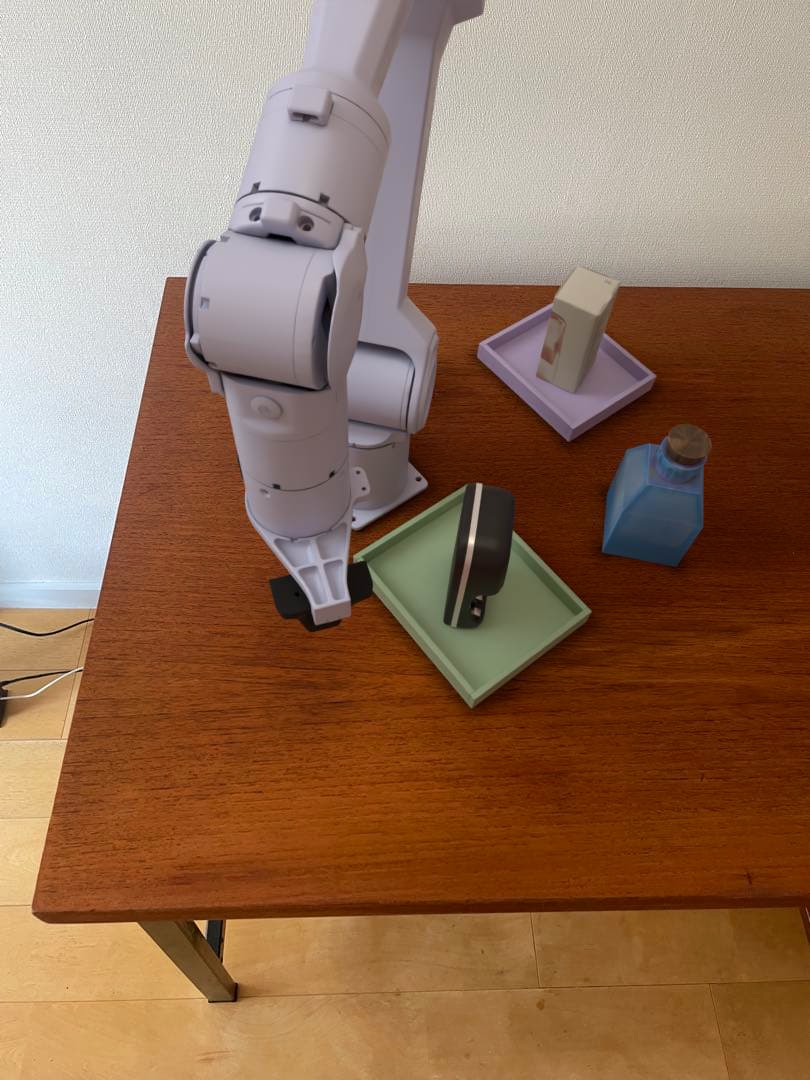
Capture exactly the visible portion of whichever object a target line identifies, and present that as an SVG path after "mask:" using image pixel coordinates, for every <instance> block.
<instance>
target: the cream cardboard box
mask: <svg viewBox="0 0 810 1080" xmlns="http://www.w3.org/2000/svg"><path fill="white" fill-rule="evenodd" d="M620 287H621V280H619V279H616V278H614V277H611V276H609V275H606V274H604V273H602V272H600V271H596V270H595V269H592V268H589V267H586V266H583V265H580V264H576V265H575V267H573V269H572V270H571V271H570V273H569V274H568V275H567V277H566V278H565V280H564V281H563V283H561V285H560V287H559V289H558V290H557V292H556V293H555V295H554V298H553V302H552V303H553V306H552V310H551V315H550V319H549V323H548V327H547V331H546V335H545V340H544V344H543V348H542V352H541V356H540V360H539V364H538V369H537V373H536V376H537V377H538V378H540V379H542V380H544V381H546V382H549V383H551V384H553V385H555V386H557V387H559V388H561V389H564V390H566V391H568V392H570V393H573V394H574V393H576V391H577V390H578V388H579V387H580V385H581V384H582V382H583V381H584V379H585V377H586V376H587V374H588V373H589V371H590V369H591V367H592V366H593V364H594V362H595V359H596V356H597V353H598V350H599V347H600V344H601V341H602V338H603V334H604V333H606V332H605V331H606V328H607V325H608V322H609V319H610V317H611V313H612V311H613V308H614V304H615V301H616V297H617V295H618V291H619V288H620Z"/></svg>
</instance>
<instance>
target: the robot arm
mask: <svg viewBox="0 0 810 1080" xmlns="http://www.w3.org/2000/svg"><path fill="white" fill-rule="evenodd" d="M486 1H487V0H313V4H312V9H311V15H310V19H309V25H308V30H307V36H306V42H305V47H304V53H303V56H302V57H303V58H302V63H301V69H299V70H296V71H295V70H294V71H292V72H288V73H287V74H284V75H283V76H281V77H280V78H278V79H277V80H276V81H274V83H273V84H272V85H271V87H270V88H269V89H268V91H267V94H266V96H265V100H264V103H263V108H262V110H261V114H260V117H259V120H258V123H257V127H256V130H255V134H254V137H253V141H252V144H251V147H250V151H249V154H248V158H247V161H246V165H245V168H244V172H243V174H242V177H241V181H240V185H239V187H238V191H237V194H236V198H235V201H234V205H233V208H232V211H231V215H230V218H229V222H228V225H227V229H226V230H225V231H223V232H222V233H221V234H220V240H216V239H207V240H205V241H204V242H202V243H201V245H199V247H198V249H197V252H196V253H194V256H193V259H192V261H191V264H190V267H189V271H188V273H187V278H186V284H185V290H184V297H183V298H184V299H183V319H184V320H183V321H184V322H183V323H184V330H185V331H184V332H185V339H184V340H185V341H184V349H185V352H186V355H187V358H188V360H189V361H190V364H192V366H193V367H194V368H196V370H200V371H203V372H205V374H206V376H207V379H208V382H209V387H210V390H211V393H216V394H219V396H221V397H225V401H226V406H227V411H228V416H229V420H230V424H231V429H232V434H233V438H234V443H235V448H236V451H237V456H236V458H237V459H236V460H237V464H238V467H239V472H240V476H241V479H242V480H243V484H244V487H245V492H244V503H245V509H246V514H247V518H248V520H249V522H250V523H251V525H252V526H253V528H254V529H255V531H256V532H257V533H258V534H259V536H260V537H261V538H262V540H263V541H264V542H265V543H266V544H267V545H266V546H268V548H270V550H271V551H272V552H273V554H274V555H275V556H276V557H277V558H278V560H279V561H280V563H281V564H282V566H283V567H284V568H285V569H286V570H287V571H288V573H289V574H286V575H282V576H278V577H275V578H270V579H268V584H269V589H270V592H271V595H272V599H273V604H274V608H275V609H276V612H277V613H278V614H279V616H280V617H281V618H282V620H285V621H286V620H287V621H289V620H297V621H298V622H300V624H301V625H302V627H304V629H306V631H308V633H311V634H312V633H317V632H320V631H323V630H327V629H332V628H335V627H338V626H340V624H341V622H342V621H343V619H345V618H349V617H351V616H352V607H353V606H355V605H357V604H358V603H360V602H362V601H365V600H367V599H370V598H371V597H372V594H373V592H374V591H373V580H372V577H371V574H370V571H369V568H368V565H367V562H366V561H360V562H356V563H353V562H352V563H349V558H350V557H349V556H350V549H351V536H352V530H353V531H360V530H361V529H363V528H365V527H366V526H368V525H369V524H371V523H373V522H375V521H376V520H378V519H379V518H382V517H383V516H385V515H386V514H388V513H389V512H391V511H392V510H395V509H396V508H397V507H399V506H400V505H402V504H404V503H405V502H407V501H408V500H410V499H412V498H414V497H415V496H417V495H418V494H421V492H423V491H425V490H426V489H427V488H428V486H429V483H428V480H426V478H425V477H424V476H423V475H422V474H421V473H420V472H419V471H418V470H417V469H416V467H414V466H413V464H412V463H410V460H409V455H410V444H411V443H410V441H411V434H412V435H416V434H418V432H419V431H421V430H423V428H425V426H426V423H427V419H428V416H429V411H430V408H431V403H432V398H433V394H434V390H435V389H434V388H435V384H436V383H435V382H436V377H437V370H438V369H437V367H438V358H437V355H438V347H439V341H440V337H439V336H438V329H437V328H436V326H435V325H434V323H433V322H432V321H431V320H430V319H429V318H428V317H427V316H426V315H425V314H424V313H423V312H422V311H421V310H420V309H419V307H417V305H416V304H415V303H414V302H413V301H412V300H411V299H410V297H409V296H408V291H409V285H410V277H411V270H412V263H413V256H414V250H415V241H416V235H417V227H418V221H419V214H420V206H421V200H422V193H423V186H424V180H425V179H424V178H425V173H426V163H427V157H428V150H429V144H430V143H429V142H430V138H431V137H430V136H431V128H432V122H433V115H434V109H435V100H436V95H437V86H438V79H439V72H440V67H441V62H442V59H443V56H444V53H445V51H446V48H447V45H448V42H449V40H450V37H451V35H452V31H453V29H454V27H455V26H456V25H459V24H462V23H465V22H467V21H470V20H473V19H475V18H478V17H481V16H483V14H484V12H485V6H486ZM418 480H419V481H418ZM353 520H354V521H353Z"/></svg>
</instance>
